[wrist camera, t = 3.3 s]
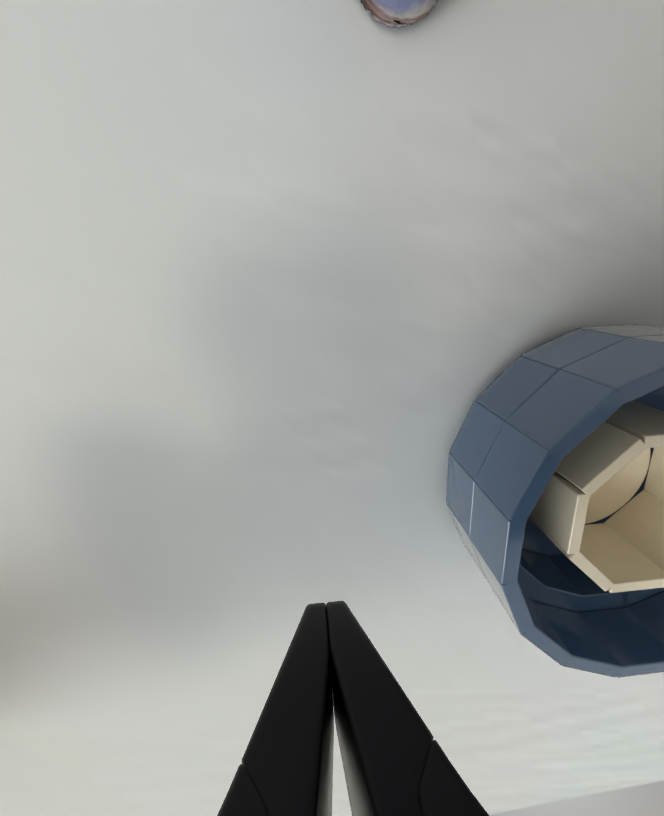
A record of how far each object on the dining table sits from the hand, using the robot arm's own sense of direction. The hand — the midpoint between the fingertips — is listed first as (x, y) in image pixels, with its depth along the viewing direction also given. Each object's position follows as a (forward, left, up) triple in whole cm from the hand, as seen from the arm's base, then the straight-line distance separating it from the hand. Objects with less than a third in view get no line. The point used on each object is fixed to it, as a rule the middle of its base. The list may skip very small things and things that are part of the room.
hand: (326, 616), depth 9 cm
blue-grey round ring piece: (-10, 0, -6) cm, 12 cm away
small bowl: (-10, 0, -6) cm, 12 cm away
